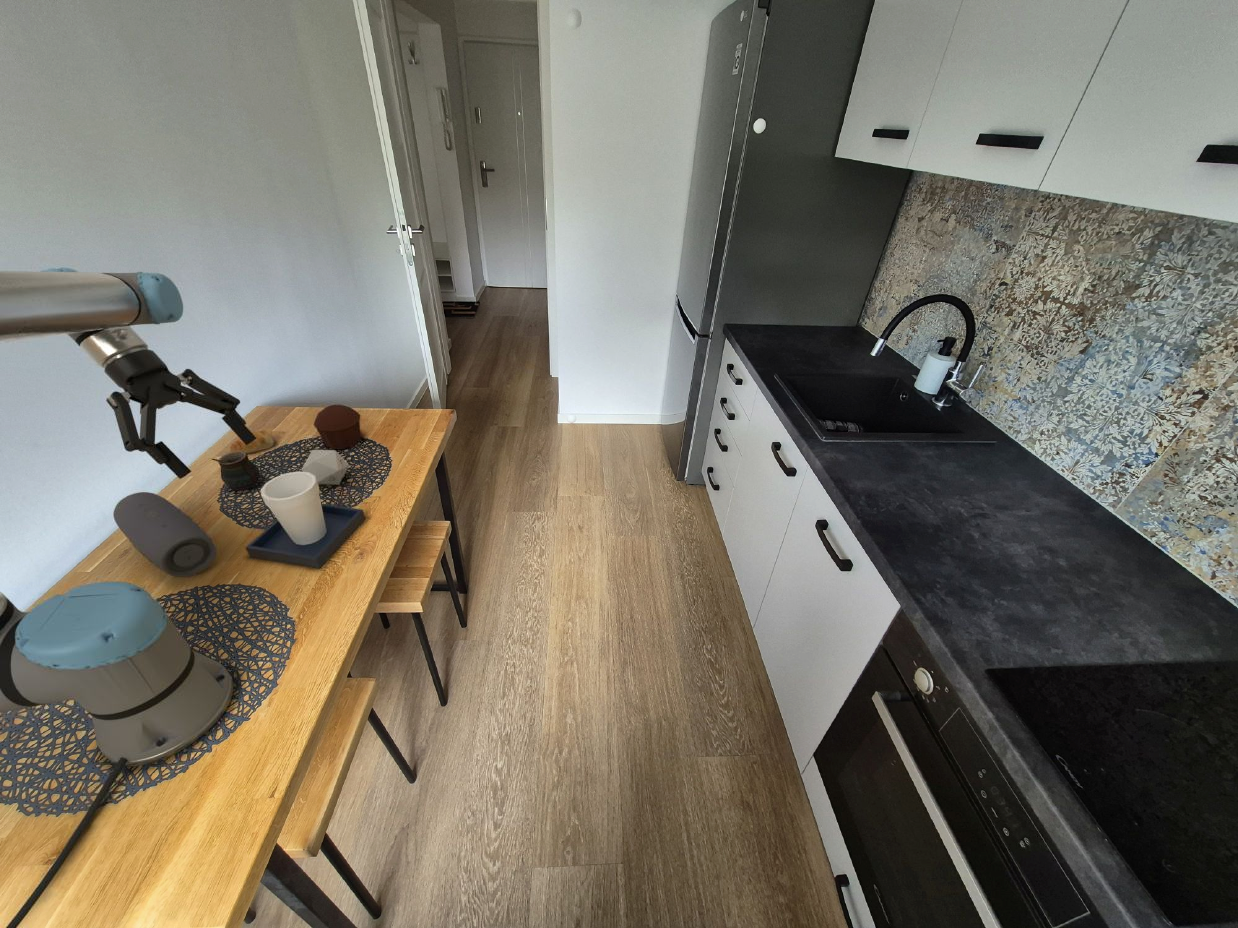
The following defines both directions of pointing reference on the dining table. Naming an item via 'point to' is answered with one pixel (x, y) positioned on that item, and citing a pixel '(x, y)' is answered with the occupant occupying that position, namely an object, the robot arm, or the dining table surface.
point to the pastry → (254, 443)
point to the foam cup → (296, 506)
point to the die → (326, 466)
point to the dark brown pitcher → (238, 470)
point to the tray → (283, 549)
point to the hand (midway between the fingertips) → (221, 457)
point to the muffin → (338, 426)
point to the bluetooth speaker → (164, 534)
